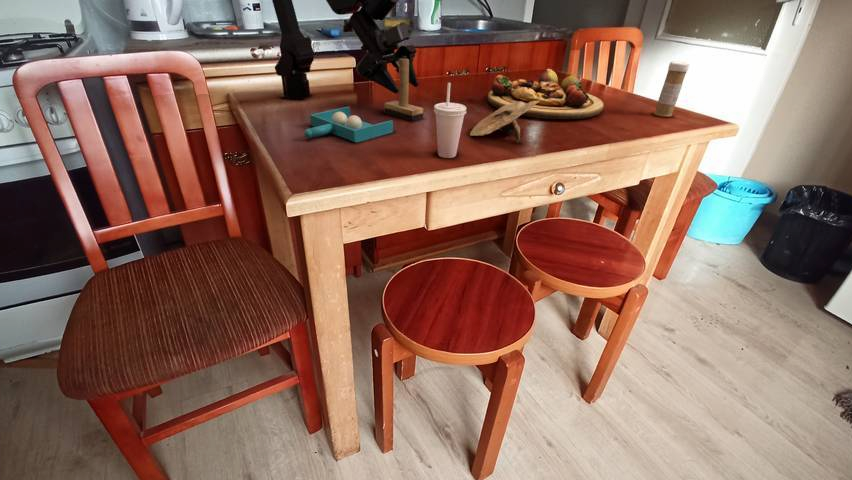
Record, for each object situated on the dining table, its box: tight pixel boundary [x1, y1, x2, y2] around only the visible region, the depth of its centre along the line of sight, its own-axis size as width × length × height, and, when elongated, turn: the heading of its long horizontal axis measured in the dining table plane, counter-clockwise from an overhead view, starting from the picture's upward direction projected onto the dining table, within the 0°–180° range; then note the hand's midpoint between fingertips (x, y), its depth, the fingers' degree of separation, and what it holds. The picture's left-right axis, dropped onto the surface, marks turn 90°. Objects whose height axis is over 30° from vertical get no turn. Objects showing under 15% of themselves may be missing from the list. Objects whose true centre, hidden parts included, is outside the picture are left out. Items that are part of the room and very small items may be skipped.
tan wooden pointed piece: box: [469, 101, 539, 144], centre depth 102 cm, size 18×14×8 cm
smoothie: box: [433, 82, 467, 159], centre depth 89 cm, size 6×6×14 cm
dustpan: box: [304, 106, 394, 143], centre depth 102 cm, size 18×16×3 cm
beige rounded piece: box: [332, 112, 347, 126], centre depth 104 cm, size 4×4×4 cm
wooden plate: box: [486, 68, 605, 120], centre depth 126 cm, size 32×32×8 cm
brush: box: [383, 58, 424, 122], centre depth 112 cm, size 4×10×13 cm, turn 47°
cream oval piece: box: [346, 114, 363, 130], centre depth 102 cm, size 4×4×4 cm
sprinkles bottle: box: [653, 60, 690, 118], centre depth 119 cm, size 5×5×14 cm
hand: (407, 89), depth 111 cm, fingers open, 9 cm apart
